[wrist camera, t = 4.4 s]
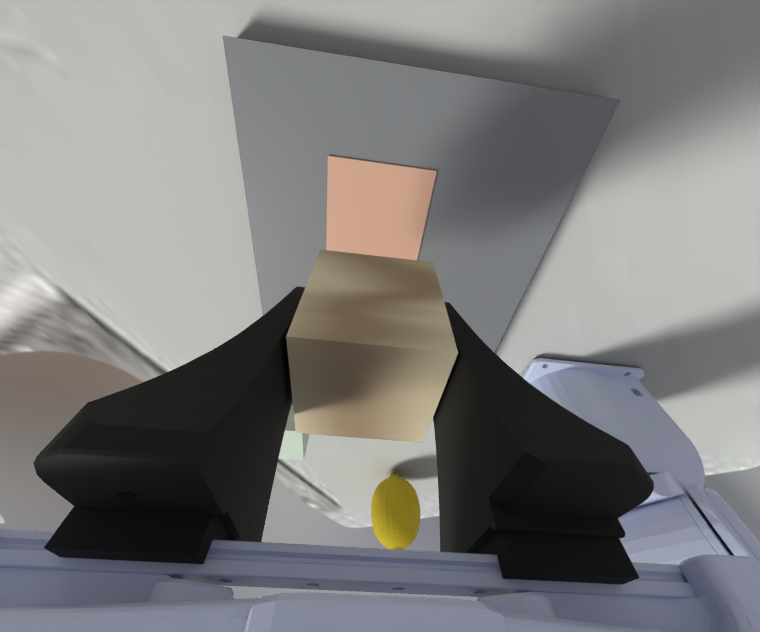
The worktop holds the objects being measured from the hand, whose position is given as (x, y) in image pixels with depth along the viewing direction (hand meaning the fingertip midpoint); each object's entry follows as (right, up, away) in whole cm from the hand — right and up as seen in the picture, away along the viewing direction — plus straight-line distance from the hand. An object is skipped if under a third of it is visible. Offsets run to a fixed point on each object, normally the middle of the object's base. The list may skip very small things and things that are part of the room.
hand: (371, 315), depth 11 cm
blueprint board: (+1, +4, +8) cm, 9 cm away
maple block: (0, +1, +1) cm, 2 cm away
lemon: (+2, -19, +26) cm, 32 cm away
